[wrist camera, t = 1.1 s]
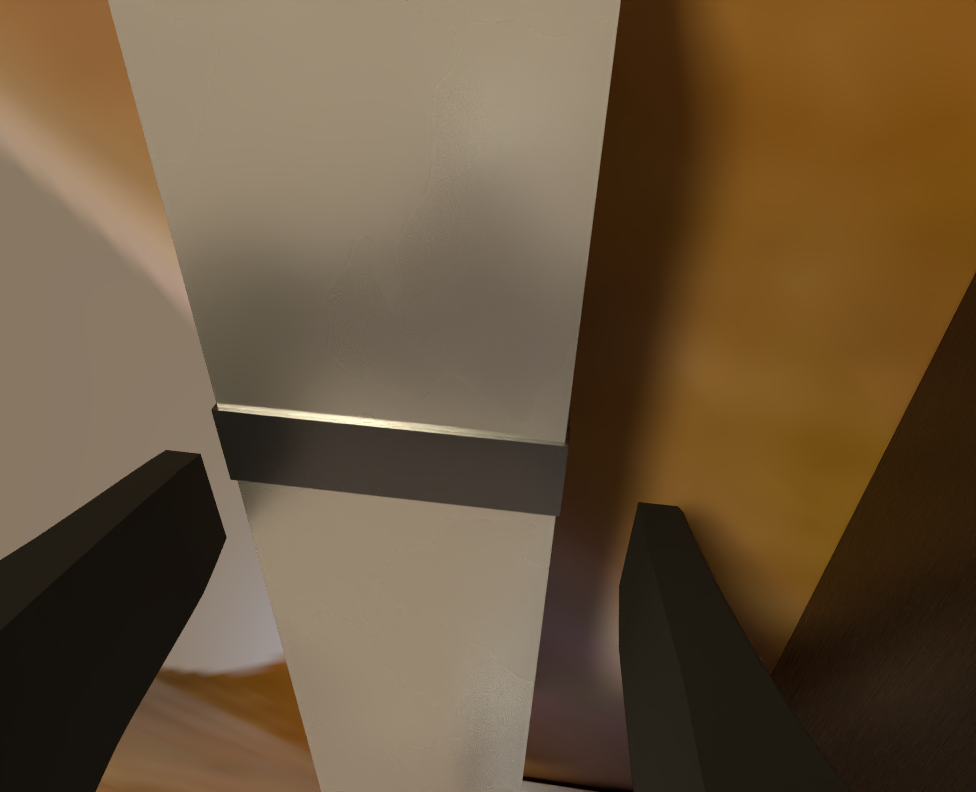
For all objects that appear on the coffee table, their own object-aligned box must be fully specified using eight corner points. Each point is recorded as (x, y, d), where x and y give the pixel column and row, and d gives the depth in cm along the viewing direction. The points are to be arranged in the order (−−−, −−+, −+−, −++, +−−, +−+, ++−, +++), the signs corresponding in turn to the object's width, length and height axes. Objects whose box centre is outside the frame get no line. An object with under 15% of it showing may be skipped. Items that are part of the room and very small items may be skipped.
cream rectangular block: (528, 689, 19) (513, 866, 16) (378, 669, 20) (330, 837, 16) (641, -274, 7) (687, -459, 4) (258, -277, 8) (-28, -448, 4)
